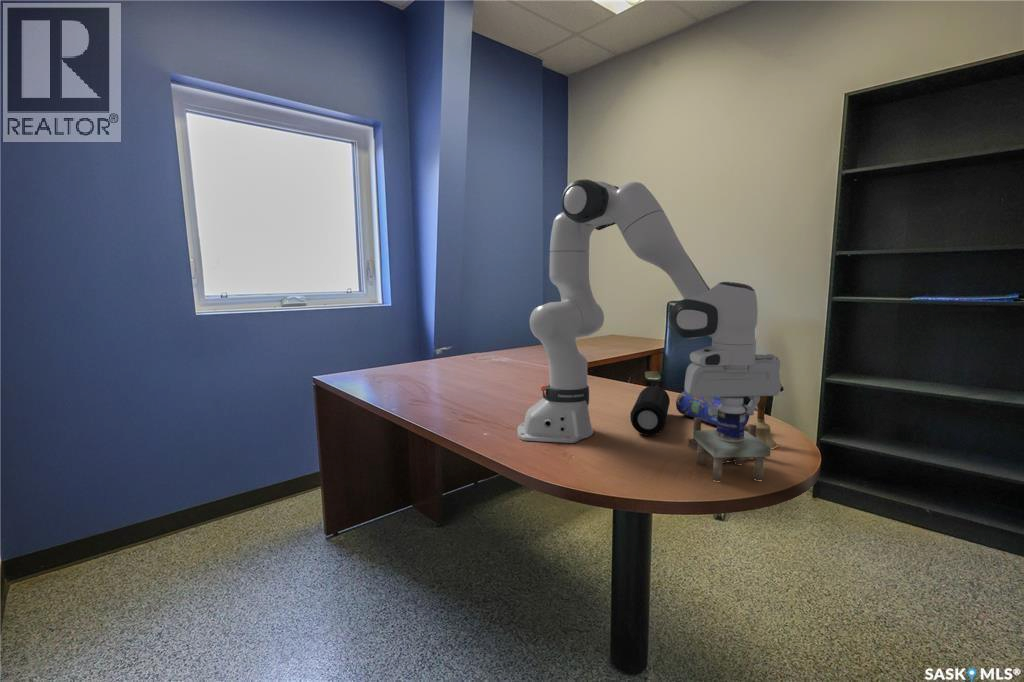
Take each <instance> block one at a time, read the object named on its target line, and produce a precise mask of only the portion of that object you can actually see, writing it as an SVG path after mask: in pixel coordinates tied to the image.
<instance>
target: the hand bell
mask: <svg viewBox="0 0 1024 682" xmlns="http://www.w3.org/2000/svg"><path fill="white" fill-rule="evenodd" d="M767 402H768V396H760V401H759V403H758V404H757V405H756V407H757V417H756V418H757V420H756V421H755V422H752V423H751V424H752V425H756V438H757V439H758V440H760V441H761V442H763V443H764V444H766V445H767V446H769V447H770V448H774V447H776V446H777V445H778V443H777V442H776V441H775V440H774V438H773V436H772V431H771V426H770V425H769V424H768V423H767V422H766V421H765V408H766V405H767Z"/></svg>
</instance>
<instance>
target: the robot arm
mask: <svg viewBox="0 0 1024 682" xmlns="http://www.w3.org/2000/svg"><path fill="white" fill-rule="evenodd" d="M561 196H562V197H561V208H562V211H563V212H560V213H559V214H557V215H556V216H555V217H554V219H553V221H552V222H553V223H552V227H551V233H550V244H549V280H550V282H551V283H552V284H553V286H555V287H556V288H557V290H558V292H559V295H560V301H551V302H547V303H545V304H542V305H541V304H540V305H539V306H537V307H535V308H534V309H533V310H532V311H531V314H530V316H529V328H530V331H531V333H532V334H533V336H534V337H535V338H536V339H538V340H539V342H540V343H541V344H542V345H543V348H544V350H545V352H546V356H547V361H548V373H549V377H548V378H549V384H548V385H546V384H542V385H541V386H540V390H541V391H542V398H541V399H539V400H538V401H537V402H536V403H535V404H533V405H532V406H530V407H529V408H527V409H528V410H526V413H525V417H524V422H522V423H520V424H519V425H518V426H517V431H516V433H517V437H518V438H519V439H520V440H522V441H531V442H545V443H546V442H549V443H550V442H551V443H565V444H568V443H569V444H574V443H577V442H579V441H580V440H583V439H587V438H589V437H591V436H592V435H593V433H594V430H593V426H592V423H591V417H590V410H589V404H590V386H589V385H588V360H587V358H586V356H585V355H583V354H582V353H580V351H579V348H578V346H577V342H576V339H577V338H579V339H580V338H584V337H588V336H591V335H593V334H595V333H596V332H598V331H600V329H601V328H602V327H603V325H604V322H605V321H604V320H605V315H604V311H603V309H602V307H601V305H600V304H598V303H597V301H596V299H595V297H594V294H593V292H592V288H591V282H590V240H591V235H592V232H594V230H596V231H601V230H603V229H606V228H607V227H608V228H609V227H612V226H615V225H616V226H617V227H618V229H619V231H620V233H621V235H622V237H623V238H624V241H625V242H626V245H627V246H628V248H629V249H630V251H632V253H633V254H634V255H635V256H636V257H637V258H639V259H640V260H642V261H644V262H646V263H649V264H652V265H653V266H656V267H658V268H659V269H661V270H662V271H664V272H665V274H667V275H668V276H669V278H670V279H671V281H672V283H674V285H675V287H676V289H677V290H678V292H679V294H680V295H681V297H682V298H683V299H681V300H679V301H677V302H676V303H675V304H674V305H673V306H672V307H671V310H670V312H669V317H668V320H669V324H670V327H671V329H672V330H673V332H674V333H675V334H676V335H678V336H680V337H681V338H685V339H689V340H690V339H691V340H693V339H699V338H704V337H710V338H711V345H709V346H706V347H704V348H701V349H697V350H695V351H694V350H693V351H692V352H690V353H689V360H690V362H691V363H689V364H688V366H687V367H686V371H685V375H684V376H685V379H684V391H686V393H687V394H688V395H690V396H691V397H704V401H705V403H706V404H707V406H708V414H709V415H710V416H717V415H718V413H717V412H718V408H716V407H713V405H712V403H711V402H712V401H713V398H714V397H738V396H741V397H748V398H749V399H750V401H749V402H748V404H747V405H746V406H744V408H745V414H746V415H749V416H754V414H755V409H756V407H757V404H758V403H759V401H760V396H767V397H776V396H778V395H779V393H780V392H781V389H782V388H781V387H782V386H781V376H780V370H781V360H780V359H779V357H777V356H775V355H774V354H770V353H769V354H768V353H767V354H756V353H757V350H756V349H757V338H756V334H755V333H756V332H755V331H756V327H757V325H758V299H757V298H758V297H757V293H756V291H755V289H754V288H753V287H752V286H750V285H748V284H745V283H740V282H735V281H732V282H731V281H721V282H717V284H716V285H715V286H713V287H711V288H710V287H709V285H708V283H706V282H705V280H704V278H703V276H702V275H701V273H700V272H699V270H698V269H697V267H696V266H695V264H694V262H693V261H692V259H691V258H690V257H689V255H688V254H687V252H686V250H685V248H684V247H683V245H682V242H680V240H679V237H678V236H677V234H676V232H675V230H674V228H673V225H672V224H671V222H670V220H669V218H668V216H667V214H666V212H665V211H664V209H663V208H662V206H661V204H660V203H659V202H658V200H657V199H656V197H655V196H654V195H653V193H652V192H651V191H650V190H649V189H648V188H647V186H646V185H645V184H643V183H641V182H637V181H633V182H628V183H626V184H623V185H621V186H620V187H619V186H616V185H613V184H610V183H608V182H604V181H598V180H597V181H595V180H591V179H579V180H574V181H573V182H571V183H569V184H568V185H567V186H566V188H565V189H564V190H563V193H562V195H561Z"/></svg>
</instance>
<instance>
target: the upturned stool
mask: <svg viewBox="0 0 1024 682" xmlns="http://www.w3.org/2000/svg"><path fill="white" fill-rule="evenodd" d="M694 430H702V421H701V418H697V417H696V418H693V432H694ZM747 432H748V433H749V434H751V435H752V436H754V437H755V438H756V425H752V423H751V424H747ZM687 442H688V443H687V447H689V448H690V447H691V449H692V448H693V449H692V450H695V451H696V452H697V451H698V442H697V441H696V440H695V439H694V438H693V437H692V438H688V441H687ZM706 456H707V458H708V457H709V458H708V459H710V458H711V459H712V460H711V459H710V460H711V461H713V458H714V457H713V456H712V455H711V454H710V453H709V452H708V451H707V450H706ZM706 456H705V457H706ZM750 458H755V457H743V459H748V460H751V459H750ZM734 460H735V457H723V458H722V462H727V461H734ZM734 462H735V461H734ZM727 463H728V462H727Z"/></svg>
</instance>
